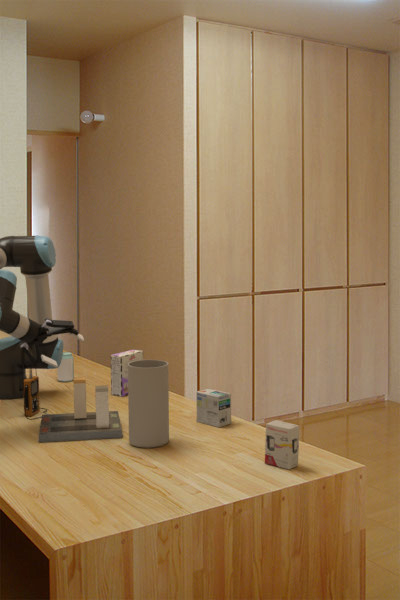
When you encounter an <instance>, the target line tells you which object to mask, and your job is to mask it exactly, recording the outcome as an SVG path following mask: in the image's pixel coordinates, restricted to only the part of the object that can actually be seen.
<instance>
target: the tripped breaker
mask: <svg viewBox="0 0 400 600" xmlns="http://www.w3.org/2000/svg"><path fill="white" fill-rule="evenodd" d="M86 379H87V378H86V376H81V377H80V376H79V377H75V376H74V379H73V401H74V402H73V411H74V412H73V413H74V419H78V418H87V417H86V412H87V384H86V383H87V380H86Z"/></svg>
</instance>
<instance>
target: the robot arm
mask: <svg viewBox="0 0 400 600" xmlns="http://www.w3.org/2000/svg"><path fill="white" fill-rule="evenodd" d="M56 256H57V255H56V248H55V245H54V243H53V241H52V239H51V238H50V237H49V236H45V235H17V236H16V235H8V236H3V237H0V332H3V333H6V334H7V335H9V336H7V337H2V338H0V400H13V399H21V398H24V393H23V379H24V380H25V379H27V378H28V377H27V374H26V373H27V371H26V370H31V365H32V370H53V369H54V370H55V369H57V368H58V367H59V366H60V364H61V360H62V356H63V352H64V340H63V339H60V338H59V336H58V335H62V334H68V335H69V336H71V337H72V338H75V339H77V340H79V341H81V342H85V338H84V336H83V334H81V333H79V330H77V329H76V328H75V324H74V321H72V320H61V319H59V320H58V319H53V313H52V312H53V311H52V300H51V289H50V279H49V275H50V273H51V272H52V271H53V269H52V268H53V267H55V266H56V264H57V263H56V262H57V261H56ZM13 267H14V268H20V273H21V274H22V275H23V276H24V277H25V284H26V285H25V286H26V295H27V305H28V306H27V307H28V316H29V318H28V317H27V316H25V315H23V314H21V313H19V312H17V311H15V310H13V309H14V301H15V296H16V291H17V283H18V282H17V281H18V278H17V277H18V276H17V275H16V274H15V273H14V272H12V271H10V270H7V269H3V268H13ZM25 361H28V362H29V363H30V361H31V363H30V365H29V363H28V362H25ZM24 362H25V363H24ZM23 364H24V368H23Z"/></svg>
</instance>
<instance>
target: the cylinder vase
mask: <svg viewBox="0 0 400 600" xmlns="http://www.w3.org/2000/svg"><path fill="white" fill-rule="evenodd" d="M169 388H170V387H169V362H168V361H166V360H159V359H143V360H138V361H133V362H130V363H128V395H127V397H128V399H127V401H128V403H127V404H128V441H129V443H130V445H132V446H134V447H137V448H141V447H142V449H145V448H146V449H153V448H159V447H162V446H165V445H166V444H167V443H169V440H170V415H169V414H170V411H169V410H170V407H169V406H170V405H169V399H170V395H169V394H170V393H169V392H170V390H169Z"/></svg>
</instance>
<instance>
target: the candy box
mask: <svg viewBox="0 0 400 600" xmlns="http://www.w3.org/2000/svg"><path fill="white" fill-rule="evenodd" d="M138 360H144V350H141V349H130V350H126V351H121V352H118V353H113V354H110V384H111V386H110V391H111V393H110V394H111V395H112V396H116V397H121V398H122V397H125V396H128V363H130V362H133V361H138Z"/></svg>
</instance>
